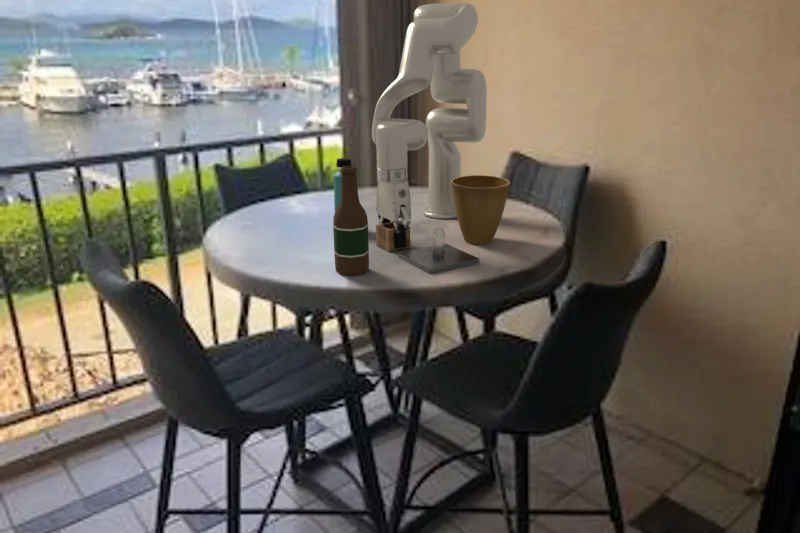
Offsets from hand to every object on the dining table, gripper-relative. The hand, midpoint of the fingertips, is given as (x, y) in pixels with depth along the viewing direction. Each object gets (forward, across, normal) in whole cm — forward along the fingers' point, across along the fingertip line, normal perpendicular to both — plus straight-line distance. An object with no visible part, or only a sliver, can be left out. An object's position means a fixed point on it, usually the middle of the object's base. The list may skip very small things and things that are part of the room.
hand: (393, 243), depth 161 cm
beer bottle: (+1, -11, +17) cm, 20 cm away
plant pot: (+1, -7, -22) cm, 23 cm away
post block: (+1, -15, -4) cm, 16 cm away
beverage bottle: (+1, +21, +3) cm, 21 cm away
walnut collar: (+1, 0, 0) cm, 1 cm away
